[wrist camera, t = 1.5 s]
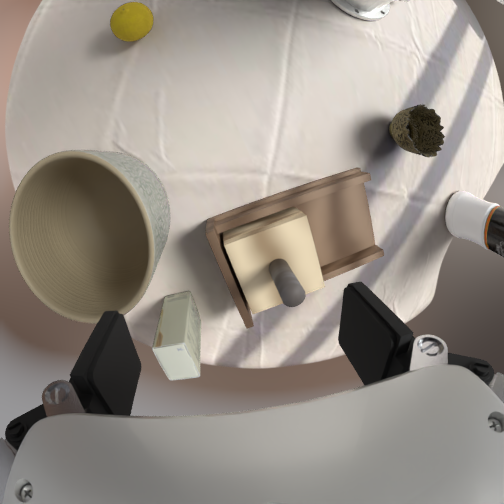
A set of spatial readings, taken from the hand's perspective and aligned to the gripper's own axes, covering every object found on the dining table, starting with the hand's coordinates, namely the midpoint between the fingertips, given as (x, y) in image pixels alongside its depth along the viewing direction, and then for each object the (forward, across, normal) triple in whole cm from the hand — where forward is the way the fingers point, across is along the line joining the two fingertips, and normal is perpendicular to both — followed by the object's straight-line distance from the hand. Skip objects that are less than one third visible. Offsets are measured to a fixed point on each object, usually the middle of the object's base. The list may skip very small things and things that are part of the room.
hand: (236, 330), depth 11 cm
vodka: (+28, -45, +3) cm, 53 cm away
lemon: (+28, +10, -27) cm, 40 cm away
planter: (+28, +14, -1) cm, 31 cm away
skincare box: (+28, +8, +16) cm, 33 cm away
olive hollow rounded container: (+28, -28, -10) cm, 41 cm away
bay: (+28, -11, +5) cm, 30 cm away
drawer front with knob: (+27, -6, +7) cm, 28 cm away
